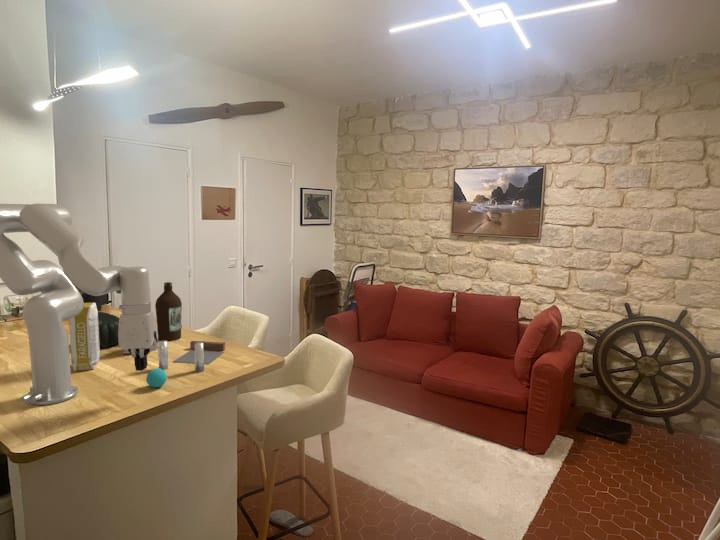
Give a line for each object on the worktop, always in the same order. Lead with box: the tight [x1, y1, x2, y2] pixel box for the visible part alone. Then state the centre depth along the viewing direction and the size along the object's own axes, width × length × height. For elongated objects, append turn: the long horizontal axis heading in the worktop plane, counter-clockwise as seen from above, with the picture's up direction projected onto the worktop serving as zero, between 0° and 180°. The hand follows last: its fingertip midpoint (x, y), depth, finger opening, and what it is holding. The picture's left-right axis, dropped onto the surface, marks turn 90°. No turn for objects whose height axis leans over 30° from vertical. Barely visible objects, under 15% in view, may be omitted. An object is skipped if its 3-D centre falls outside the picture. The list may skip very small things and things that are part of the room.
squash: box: [98, 311, 120, 349], centre depth 184 cm, size 14×15×15 cm
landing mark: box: [172, 349, 224, 365], centre depth 173 cm, size 14×14×1 cm
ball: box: [145, 367, 168, 389], centre depth 143 cm, size 6×6×6 cm
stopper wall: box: [189, 340, 226, 352], centre depth 183 cm, size 2×14×3 cm, turn 85°
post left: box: [157, 340, 169, 371], centre depth 159 cm, size 3×3×10 cm
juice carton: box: [68, 303, 101, 372], centre depth 158 cm, size 9×8×24 cm
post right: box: [194, 342, 205, 373], centre depth 158 cm, size 3×3×10 cm
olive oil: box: [154, 281, 183, 342], centre depth 196 cm, size 11×11×25 cm
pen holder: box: [81, 292, 103, 312], centre depth 245 cm, size 9×9×10 cm
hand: (141, 369), depth 133 cm, fingers closed
